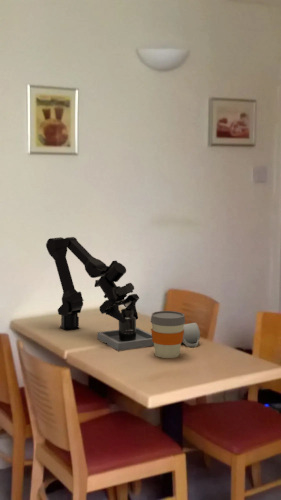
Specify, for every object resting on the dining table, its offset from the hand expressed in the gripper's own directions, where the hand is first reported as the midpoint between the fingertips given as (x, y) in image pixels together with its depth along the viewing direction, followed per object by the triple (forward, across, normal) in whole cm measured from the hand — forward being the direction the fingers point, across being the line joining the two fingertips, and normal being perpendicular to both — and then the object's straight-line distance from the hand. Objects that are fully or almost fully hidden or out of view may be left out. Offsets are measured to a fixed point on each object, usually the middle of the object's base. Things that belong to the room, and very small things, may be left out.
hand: (131, 320), depth 249 cm
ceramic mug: (+19, +14, -6) cm, 25 cm away
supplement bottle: (+5, 0, +7) cm, 8 cm away
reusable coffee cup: (+20, -3, -8) cm, 22 cm away
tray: (+5, 0, +7) cm, 9 cm away
